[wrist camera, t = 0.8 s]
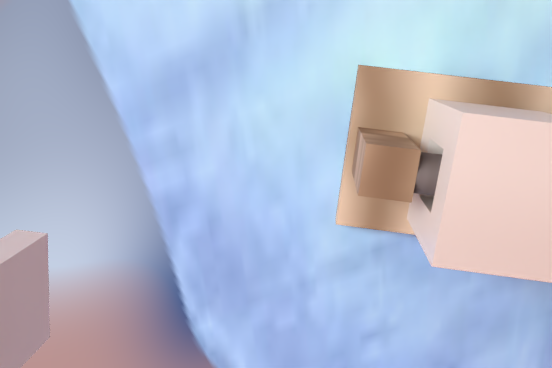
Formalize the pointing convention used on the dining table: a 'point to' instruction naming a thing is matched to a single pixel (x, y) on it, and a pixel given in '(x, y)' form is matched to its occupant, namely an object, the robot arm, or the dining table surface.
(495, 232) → the sleeve
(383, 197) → the rail
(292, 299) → the dining table surface
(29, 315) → the robot arm
